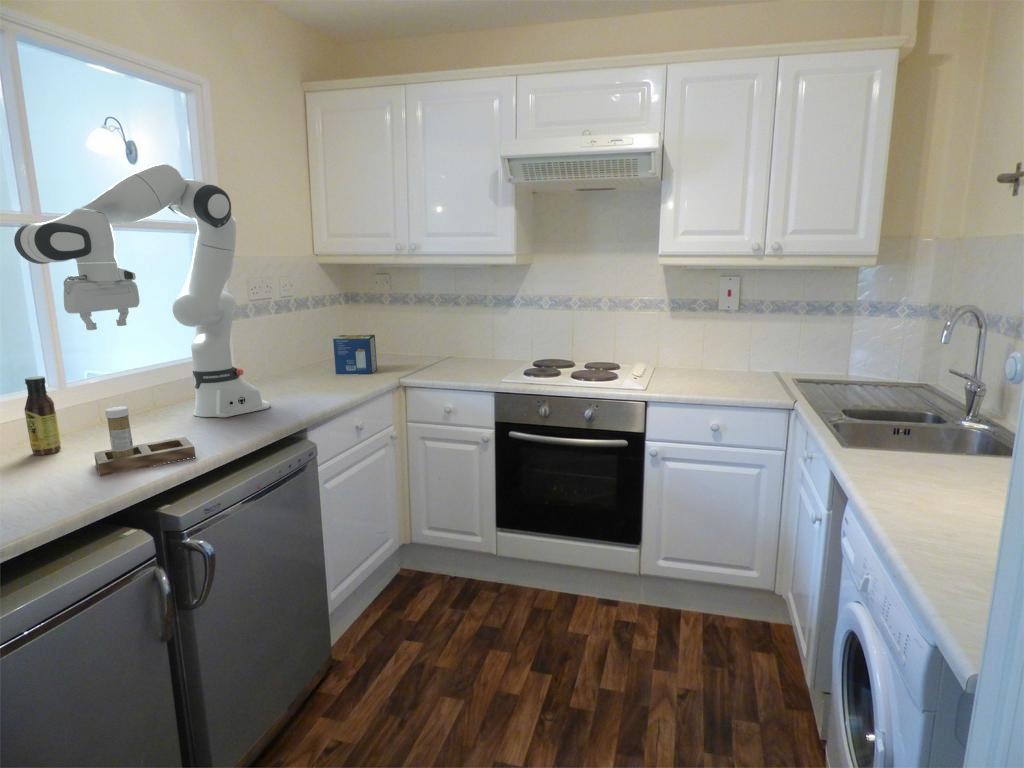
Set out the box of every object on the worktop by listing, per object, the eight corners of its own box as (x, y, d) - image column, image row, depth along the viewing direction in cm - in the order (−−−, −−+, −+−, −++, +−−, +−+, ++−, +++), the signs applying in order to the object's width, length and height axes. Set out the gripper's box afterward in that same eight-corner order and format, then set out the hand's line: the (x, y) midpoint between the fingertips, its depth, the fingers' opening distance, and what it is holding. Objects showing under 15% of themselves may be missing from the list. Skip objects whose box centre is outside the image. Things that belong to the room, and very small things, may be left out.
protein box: (342, 370, 270) (339, 334, 267) (377, 369, 270) (375, 334, 266) (334, 374, 260) (332, 338, 257) (371, 374, 259) (368, 337, 256)
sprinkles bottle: (119, 459, 152) (111, 406, 149) (139, 458, 152) (131, 405, 149) (109, 465, 147) (101, 410, 144) (130, 464, 148) (121, 409, 145)
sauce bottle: (30, 452, 161) (16, 377, 157) (59, 447, 165) (46, 373, 161) (34, 458, 156) (20, 380, 152) (64, 452, 161) (51, 377, 157)
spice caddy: (186, 447, 163) (185, 436, 162) (195, 457, 154) (194, 446, 153) (95, 464, 151) (93, 452, 150) (100, 476, 142) (98, 463, 142)
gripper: (73, 275, 150) (82, 332, 152) (140, 273, 169) (147, 323, 172) (52, 276, 151) (61, 332, 154) (120, 273, 171) (127, 323, 173)
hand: (107, 327), depth 163 cm, fingers open, 8 cm apart
